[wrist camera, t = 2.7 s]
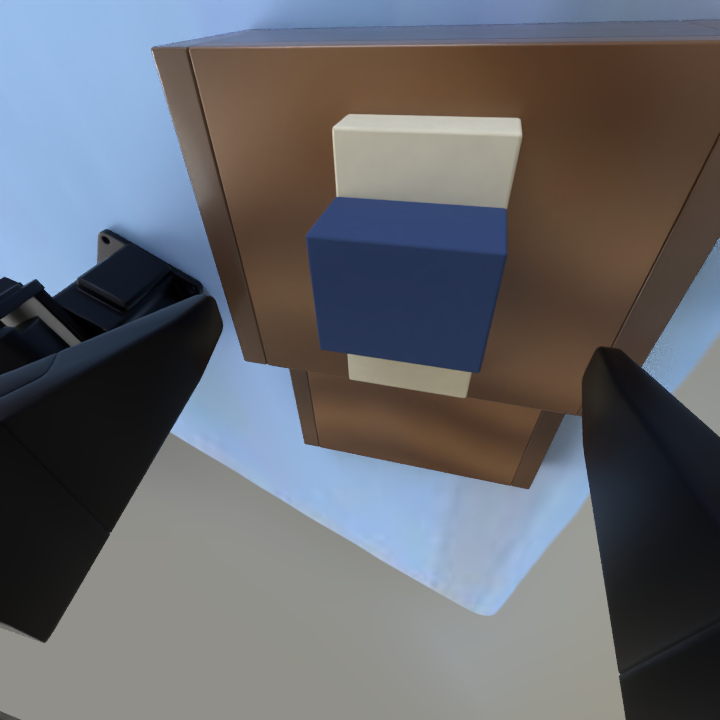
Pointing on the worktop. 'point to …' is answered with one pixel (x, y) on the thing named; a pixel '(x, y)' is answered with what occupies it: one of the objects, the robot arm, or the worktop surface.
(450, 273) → the blue sleeved eraser
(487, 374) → the brown wooden cabinet
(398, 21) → the worktop surface
